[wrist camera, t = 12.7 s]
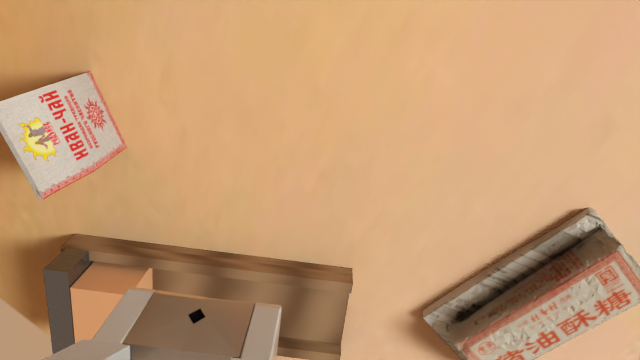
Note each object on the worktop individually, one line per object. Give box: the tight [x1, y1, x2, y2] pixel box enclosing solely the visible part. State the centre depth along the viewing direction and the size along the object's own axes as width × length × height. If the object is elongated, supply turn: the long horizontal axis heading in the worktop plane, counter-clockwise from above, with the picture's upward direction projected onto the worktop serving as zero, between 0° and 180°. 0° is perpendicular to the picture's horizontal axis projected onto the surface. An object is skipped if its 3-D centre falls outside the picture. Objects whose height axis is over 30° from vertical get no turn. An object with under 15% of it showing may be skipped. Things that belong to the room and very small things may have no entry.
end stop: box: [43, 248, 94, 354], centre depth 43 cm, size 2×9×5 cm, turn 173°
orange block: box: [70, 261, 153, 343], centre depth 43 cm, size 5×6×5 cm
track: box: [61, 234, 353, 360], centre depth 46 cm, size 26×9×2 cm, turn 83°
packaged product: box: [422, 208, 640, 360], centre depth 44 cm, size 18×5×10 cm
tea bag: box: [0, 72, 126, 200], centre depth 36 cm, size 4×7×10 cm, turn 17°
